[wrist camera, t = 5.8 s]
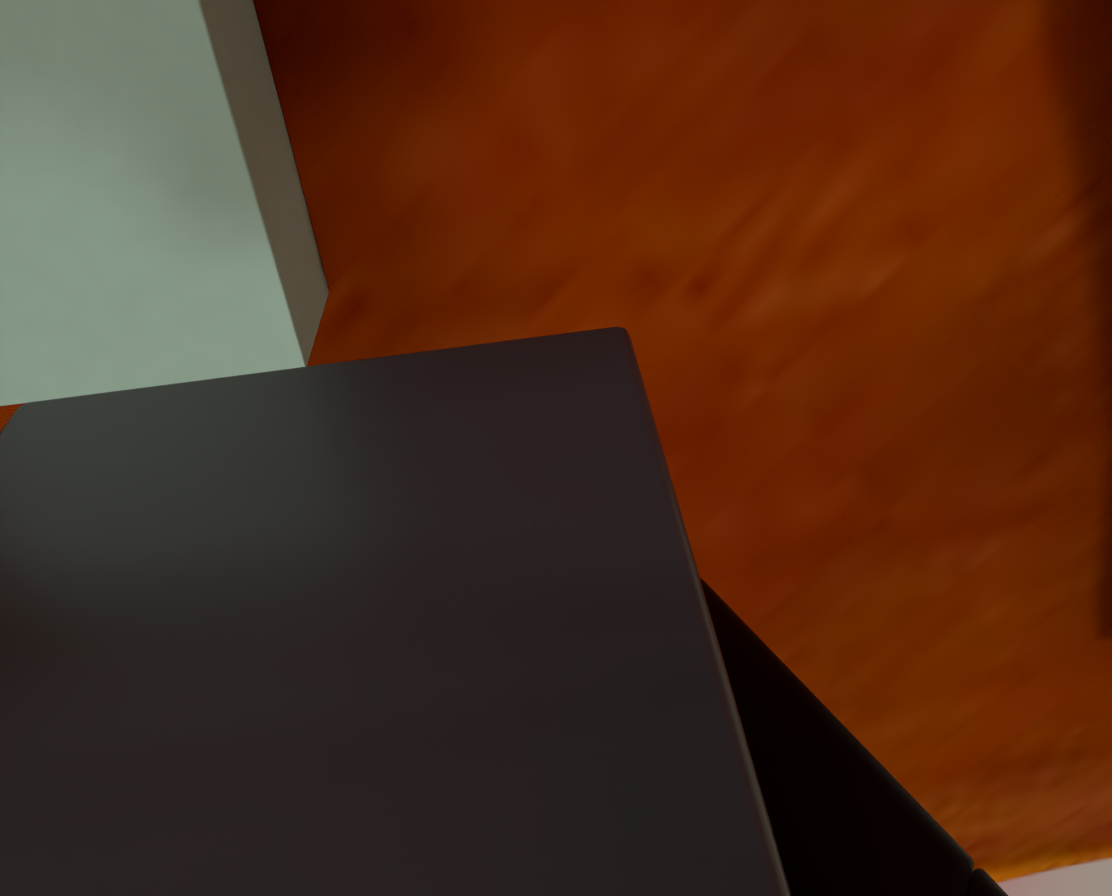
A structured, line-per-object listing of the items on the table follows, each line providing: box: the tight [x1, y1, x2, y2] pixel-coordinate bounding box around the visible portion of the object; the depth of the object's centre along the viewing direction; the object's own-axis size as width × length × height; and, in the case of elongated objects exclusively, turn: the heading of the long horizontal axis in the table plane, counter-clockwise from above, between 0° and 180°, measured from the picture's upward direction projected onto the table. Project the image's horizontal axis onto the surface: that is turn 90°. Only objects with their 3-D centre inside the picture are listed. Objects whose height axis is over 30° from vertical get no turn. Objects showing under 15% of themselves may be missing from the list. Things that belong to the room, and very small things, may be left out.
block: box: [0, 327, 791, 896], centre depth 7 cm, size 5×5×5 cm
